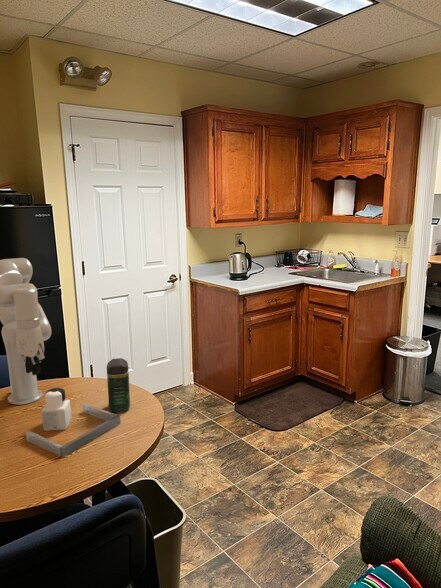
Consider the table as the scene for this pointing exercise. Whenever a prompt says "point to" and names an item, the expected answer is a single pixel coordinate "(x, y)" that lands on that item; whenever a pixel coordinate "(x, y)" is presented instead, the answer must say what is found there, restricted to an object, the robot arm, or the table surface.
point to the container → (56, 410)
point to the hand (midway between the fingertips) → (33, 372)
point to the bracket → (73, 445)
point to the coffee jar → (118, 385)
